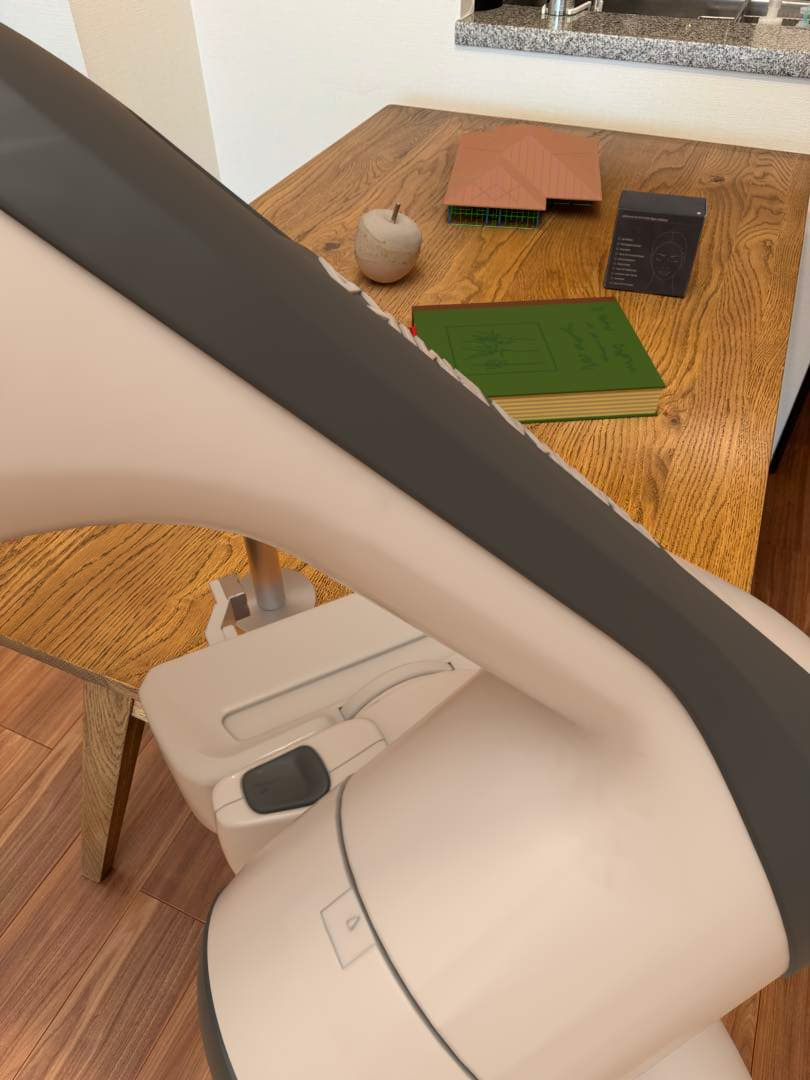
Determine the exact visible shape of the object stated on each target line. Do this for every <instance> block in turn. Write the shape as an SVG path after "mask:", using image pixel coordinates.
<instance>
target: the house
mask: <svg viewBox="0 0 810 1080" xmlns="http://www.w3.org/2000/svg"><path fill="white" fill-rule="evenodd" d="M601 180H602V179H601V168H600V154H599V141H598V139H597V138H592V137H585V136H580V135H574V134H567V133H562V132H556V131H553V128H551V127H546V126H539V125H535V124H529V123H513V124H503V125H496V126H495V130H486V131H485V130H484V131H472V132H462V133H461V137H460V140H459V143H458V148H457V151H456V155H455V158H454V163H453V166H452V170H451V173H450V176H449V180H448V184H447V187H446V192H445V195H444V198H443V202H442V205H443V206H448V219H447V220H448V221H447V225H453V226H454V225H455V226H467V221H465V224H463V223H462V224H461V223H450V222H451V219H452V215H453V214H458V215H460V217H459V222H462V221H461V218H462V214H463V215H464V214H465V215H468V212H456V211H457V210H459V211H472V208H476V212H478V211H479V212H480V211H481V212H485V213H476V216H482V217H481V220H483V219H484V216H485V227H487V228H488V227H489V228H501V219H502V217H507V214H502V213H508V209H510V210H511V213H516V215H515V217H516V218H521V221H523V220H524V218H527V219H532V222H534V219H535V218H536V228H535V230H538V229H539V228H538V227H539V219H540V212H541V211H546V209H547V204H550V201H549V202H548V201H547V199H551V200H552V199H553V200H554V201H556V200H560V201H559V202H555V204H556V205H558V204H560V205H569V202H567V201H565V203H563V202H561V201H562V200H570V201H575V203H574V205H575V206H577V205H578V206H588V203H586V204H585V203H584V204H582V203H583V202H582V201H589V202H590V206H593V201H594V202H603V193H602V181H601ZM578 201H581V202H580V204H579V203H577V202H578ZM457 207H458V208H457ZM459 207H463V208H459ZM468 207H471V209H470V208H468ZM481 208H486V209H481ZM491 208H493V212H492V214H491V217H494V214H495V217H498V224H497V221H495V223H494V221H492V224H491V225H488V221H489V216H490V209H491ZM495 209H496V210H495ZM498 209H499V214H497V213H498ZM503 209H506V210H505V211H504V210H503ZM514 210H517V211H514ZM519 210H522V211H519ZM524 210H526V211H527V216H524V215H522V216H518V214H526V212H524ZM530 211H533V212H530ZM494 212H495V213H494ZM529 214H532V215H537V216H529ZM473 215H474V213H473V212H471V213H470V217H471V218H470V220H472V217H473ZM509 217H510V219H512V217H513V214H511V215H509ZM506 222H507V218H505V222H504V224H506ZM475 223H476V224H468V226H470V227H471V226H472V227H481V224H480V225H479V224H478V220H476V221H475ZM517 223H518V220H516V222H515V225H517ZM528 224H529V221H527V224H526V226H528ZM494 225H495V226H494ZM496 225H497V226H496ZM502 228H505V229H516V226H515V227H514V226H513V227H512V224H510V226H502ZM519 229H522V230H524V229H525V230H534V226H532V228H531V227H530V228H529V227H523V225H521V226H520V227H519Z"/></svg>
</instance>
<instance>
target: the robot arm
mask: <svg viewBox="0 0 810 1080" xmlns="http://www.w3.org/2000/svg"><path fill="white" fill-rule="evenodd" d="M407 327H408V326H406V325H405V324H403V323H402V322H398V321H397V320H396V317H394V315H392V313H390V312H389V311H388V310H387V309H385V310H384V309H383V308H381V307H380V306H379V305H378V304H377V302H376V301H375V300H374V299H373V298H372V297H371V296H369V295H368V293H366V292H365V291H363V290H362V289H361V288H360V287H359V286H357V285H356V284H355V283H354V282H353V281H349V280H348V279H347V278H345V277H344V276H343V275H342V274H341V273H339V272H338V271H337V270H336V269H334V267H333V266H332V264H331V263H330V262H328V261H327V260H326V259H325V258H323V257H322V256H321V255H320V256H319V255H318V254H316V253H315V252H313V250H311V249H309V248H308V247H306V246H305V245H304V244H301V243H299V242H298V241H294V240H293V239H292V238H291V237H290V236H288V235H287V234H285V233H284V232H283V230H281V229H279V228H278V227H277V226H276V225H275V224H274V223H272V222H271V221H269V219H267V218H266V217H265V216H264V215H262V214H261V213H260V212H258V211H257V210H256V209H255V208H254V207H252V206H251V205H250V204H248V202H246V201H245V200H244V199H242V198H241V197H240V196H238V195H237V194H236V193H234V192H233V191H232V190H231V189H230V188H228V187H227V186H226V185H225V184H224V183H222V182H221V181H220V180H219V179H217V178H216V177H215V176H214V175H212V174H211V173H210V172H209V171H208V170H206V169H205V168H204V167H203V166H201V165H200V164H199V163H198V162H196V161H195V160H194V159H192V158H191V157H190V156H189V155H188V154H187V153H185V152H184V151H183V150H182V149H180V148H179V147H178V146H177V145H175V144H174V143H173V142H172V141H170V140H169V139H168V138H167V137H165V136H164V135H163V134H162V133H161V132H160V131H159V130H157V129H156V128H155V127H153V126H152V125H151V124H150V123H148V122H147V121H146V120H145V119H143V118H142V117H141V116H140V115H138V114H137V112H135V111H133V110H132V109H131V108H130V107H128V106H127V105H125V104H124V103H123V102H121V101H120V100H119V99H117V98H116V97H115V96H113V95H112V94H111V93H109V92H108V91H106V90H105V89H104V88H102V87H101V86H100V85H99V84H98V83H96V82H94V81H92V79H90V78H88V77H87V76H86V75H84V74H82V72H80V71H79V70H77V69H76V68H74V67H73V66H71V65H70V64H69V63H67V62H65V61H64V60H62V59H61V58H59V57H58V56H56V55H55V54H53V53H51V52H50V51H49V50H47V49H45V48H44V47H42V46H41V45H40V44H37V43H36V42H34V41H33V40H32V39H30V38H28V37H27V36H25V35H23V34H21V33H20V32H18V31H17V30H15V29H13V28H12V27H10V26H8V25H7V24H5V23H3V22H1V21H0V543H4V542H8V541H14V540H17V539H22V538H25V537H26V538H27V537H30V536H35V535H43V534H47V533H48V534H49V533H55V532H61V531H67V530H73V529H79V528H87V527H101V526H102V527H103V526H115V525H129V524H147V525H175V526H176V525H177V526H187V527H188V526H189V527H194V528H199V529H207V530H213V531H218V532H225V533H231V534H234V535H238V536H242V537H243V536H245V537H248V538H251V539H254V540H257V541H260V542H262V543H265V544H268V545H270V546H272V547H274V548H277V550H279V551H281V552H283V553H286V554H288V555H289V556H291V557H293V558H295V559H297V560H299V561H301V562H303V563H304V564H306V565H308V566H310V567H311V568H313V569H315V570H316V571H317V572H320V573H321V574H323V575H324V576H326V577H328V578H329V579H331V580H333V581H334V582H336V583H338V584H340V585H341V586H343V587H345V588H346V589H348V590H350V591H351V592H353V593H349V594H347V595H345V596H342V597H339V598H336V599H333V600H331V601H328V602H325V603H322V604H320V605H318V606H317V607H314V608H312V609H309V610H306V611H303V612H301V613H298V614H295V615H293V616H290V617H287V618H284V619H282V620H279V621H276V622H274V623H271V624H268V625H265V626H263V627H260V628H257V629H255V630H252V631H249V632H246V633H244V634H241V635H238V634H237V632H236V630H235V625H236V621H238V620H241V619H243V618H246V617H248V616H251V614H250V609H249V606H248V604H247V602H248V601H247V597H246V593H245V590H244V588H243V586H242V584H241V583H240V581H239V580H240V577H239V575H238V574H237V572H234V573H232V574H228V575H225V576H223V577H220V578H219V577H218V578H215V579H213V580H211V581H208V587H209V591H210V594H211V597H212V601H213V604H214V605H213V608H212V611H211V613H210V617H209V620H208V622H207V626H206V629H205V631H204V636H205V640H206V643H207V646H206V647H203V648H201V649H198V650H195V651H192V652H190V653H187V654H184V655H182V656H179V657H176V658H174V659H169V660H167V661H165V662H162V663H159V664H157V665H155V666H153V667H151V668H150V669H149V671H147V673H146V675H145V677H144V679H143V680H142V682H141V684H140V687H139V689H138V691H137V696H138V699H139V702H140V705H141V708H142V710H143V713H144V715H145V718H146V720H147V723H148V725H149V728H150V730H151V733H152V735H153V737H154V739H155V743H156V744H157V747H158V749H159V751H160V754H161V756H162V758H163V760H164V762H165V764H166V766H167V768H168V770H169V772H170V774H171V777H172V778H173V780H174V782H175V785H176V787H177V788H178V790H179V791H180V793H181V795H182V797H183V799H184V800H185V802H186V803H187V805H188V807H189V809H190V810H191V813H192V814H193V815H194V817H195V818H196V819H197V820H198V821H199V822H200V823H201V824H202V825H203V826H204V827H205V828H207V829H208V830H209V831H211V832H212V833H214V834H216V835H217V838H218V841H219V844H220V848H221V851H222V854H223V855H224V857H225V859H226V862H227V863H228V865H229V867H230V869H231V871H232V872H233V874H234V875H235V876H234V877H233V878H232V879H231V880H230V881H229V882H228V883H226V884H225V885H224V886H222V887H221V889H219V891H218V892H217V894H216V895H215V896H214V898H213V900H212V902H211V904H210V907H209V909H208V912H207V915H206V919H205V923H204V926H203V929H202V934H201V940H200V946H199V951H198V956H197V957H198V959H197V975H196V999H197V1000H196V1001H197V1013H198V1014H197V1015H198V1022H199V1024H198V1025H199V1029H200V1035H201V1040H202V1041H201V1042H202V1045H203V1050H204V1054H205V1059H206V1062H207V1066H208V1069H209V1072H210V1075H211V1079H212V1080H753V1078H752V1077H751V1074H750V1073H749V1072H750V1071H749V1070H748V1068H747V1066H746V1065H745V1063H744V1060H743V1058H742V1056H741V1054H740V1052H739V1050H738V1048H737V1046H736V1044H735V1042H734V1041H733V1038H732V1037H731V1036H730V1033H729V1031H728V1030H727V1028H726V1026H725V1025H724V1024H725V1023H724V1022H723V1021H722V1019H723V1017H725V1016H726V1015H727V1014H729V1013H730V1012H731V1011H733V1010H734V1009H736V1008H737V1007H739V1006H740V1005H741V1004H743V1003H744V1002H745V1001H747V1000H748V999H750V998H751V997H753V996H754V995H755V994H757V993H758V992H760V991H762V989H764V988H765V987H767V986H768V985H770V984H771V983H772V982H773V981H775V980H777V979H778V978H784V979H790V978H791V977H793V976H795V975H797V974H798V973H799V972H801V971H803V970H805V969H807V968H808V967H810V637H809V636H808V635H807V634H806V633H805V632H804V631H802V629H800V628H799V627H798V626H796V625H795V624H794V623H792V622H791V621H790V620H788V619H787V618H785V616H784V615H782V614H780V613H779V612H778V611H777V610H775V609H774V608H772V607H771V606H770V605H768V604H766V603H765V602H763V601H761V600H760V599H758V598H757V597H756V596H754V595H753V594H751V593H749V592H748V591H746V590H745V589H742V588H740V587H739V586H736V585H735V584H733V583H731V582H729V581H727V580H725V579H723V578H721V577H720V576H718V575H716V574H714V573H712V572H710V571H708V570H706V569H704V568H702V567H700V566H698V565H696V564H694V563H692V562H690V561H689V560H686V559H685V558H682V557H681V556H679V555H677V554H675V553H673V552H671V551H669V550H668V549H667V548H666V547H664V546H663V545H662V544H660V543H659V542H658V540H656V539H655V538H654V537H653V536H652V535H651V533H650V532H649V531H648V529H647V527H646V526H644V525H643V524H641V523H640V522H637V521H636V520H635V519H634V518H633V517H632V516H630V514H629V513H628V512H627V511H626V510H625V509H624V508H623V507H622V506H618V504H617V503H616V502H615V501H614V500H613V499H612V498H610V497H609V496H608V495H607V494H606V493H605V492H603V490H601V489H600V488H597V487H596V486H595V485H594V484H592V483H591V482H590V481H589V479H588V478H586V476H585V475H583V474H582V473H581V472H580V471H578V469H576V468H575V467H574V466H573V465H570V464H568V463H567V462H566V461H565V460H564V458H562V457H561V456H560V454H558V453H557V452H556V451H553V450H552V449H551V447H550V446H548V445H547V444H546V442H544V441H540V440H539V439H538V437H537V436H536V435H535V433H533V431H531V430H530V429H528V428H527V427H526V426H525V425H524V424H521V423H520V422H519V421H518V420H517V421H516V420H515V419H513V418H512V417H511V416H510V415H509V414H507V413H506V412H505V411H504V410H503V408H502V407H501V406H500V405H498V404H497V403H496V402H495V401H494V400H493V401H491V400H490V399H489V398H488V397H487V396H485V395H484V394H483V393H482V392H481V391H480V389H479V388H478V387H477V386H476V385H475V384H473V383H472V382H471V381H470V380H469V379H467V378H466V377H465V376H464V375H463V374H462V373H460V372H459V371H458V370H457V369H456V368H455V369H453V368H452V366H451V364H450V363H448V362H447V361H446V360H445V359H444V358H443V359H441V358H440V357H439V356H438V354H437V353H435V352H434V351H433V350H432V349H431V350H430V349H429V348H428V347H427V346H426V345H425V344H424V342H423V341H422V340H421V339H420V338H419V337H417V336H414V335H412V334H411V332H410V330H409V329H408V328H407Z"/></svg>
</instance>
